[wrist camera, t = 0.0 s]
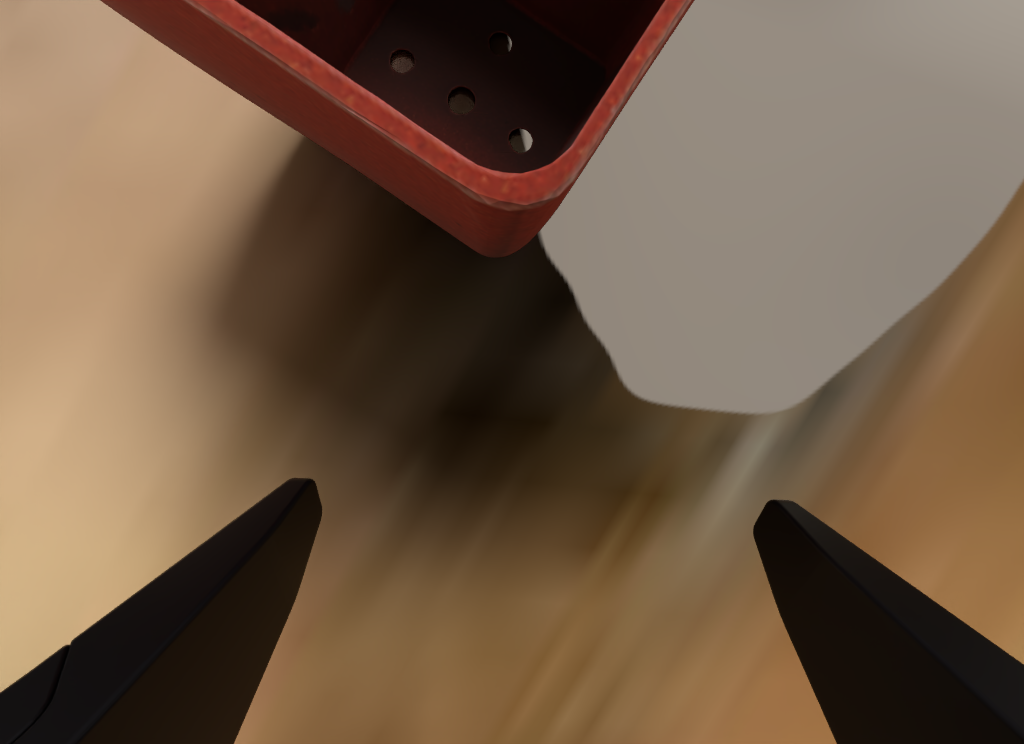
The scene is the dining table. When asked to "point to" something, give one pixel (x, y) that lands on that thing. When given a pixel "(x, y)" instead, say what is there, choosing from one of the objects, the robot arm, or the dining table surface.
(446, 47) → the plant pot
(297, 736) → the dining table surface
